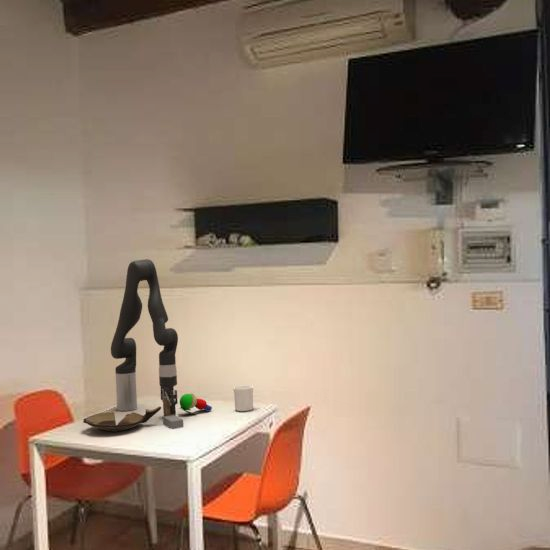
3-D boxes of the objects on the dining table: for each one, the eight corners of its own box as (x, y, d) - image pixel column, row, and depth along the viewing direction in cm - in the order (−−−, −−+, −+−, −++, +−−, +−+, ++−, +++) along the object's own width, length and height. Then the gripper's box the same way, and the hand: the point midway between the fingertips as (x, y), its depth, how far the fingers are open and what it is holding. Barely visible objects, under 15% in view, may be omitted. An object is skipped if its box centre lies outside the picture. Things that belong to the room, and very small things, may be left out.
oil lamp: (97, 422, 257) (96, 405, 257) (165, 421, 254) (164, 403, 254) (74, 437, 234) (73, 417, 234) (148, 436, 231) (148, 416, 231)
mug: (251, 412, 264) (250, 389, 264) (232, 412, 266) (231, 389, 266) (256, 406, 275) (255, 384, 275) (238, 406, 277) (237, 384, 276)
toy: (198, 417, 273) (173, 405, 264) (205, 401, 275) (180, 389, 267) (208, 420, 266) (183, 408, 258) (215, 403, 269) (190, 391, 261)
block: (163, 418, 259) (162, 395, 259) (172, 417, 261) (171, 394, 261) (167, 420, 256) (166, 397, 256) (175, 418, 258) (174, 395, 258)
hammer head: (163, 423, 250) (163, 416, 250) (174, 422, 252) (174, 414, 252) (171, 428, 241) (171, 421, 241) (183, 426, 244) (183, 419, 244)
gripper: (154, 373, 262) (155, 410, 262) (165, 377, 250) (166, 416, 250) (170, 371, 266) (171, 408, 266) (182, 375, 254) (183, 413, 254)
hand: (169, 412), depth 258 cm, fingers open, 8 cm apart
